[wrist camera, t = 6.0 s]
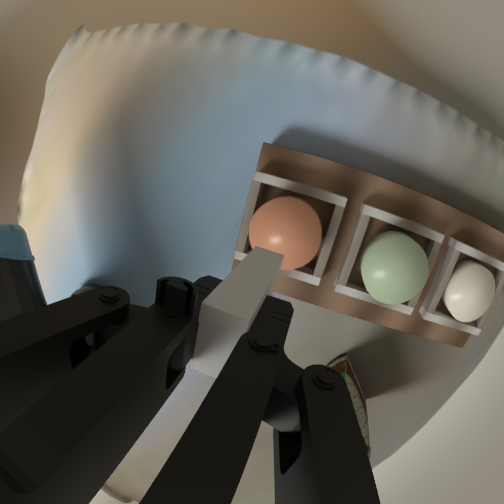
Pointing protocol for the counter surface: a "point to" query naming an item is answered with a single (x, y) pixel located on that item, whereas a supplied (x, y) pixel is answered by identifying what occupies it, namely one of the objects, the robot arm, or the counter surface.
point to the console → (362, 231)
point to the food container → (353, 394)
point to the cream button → (469, 290)
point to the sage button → (393, 267)
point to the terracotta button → (287, 230)
